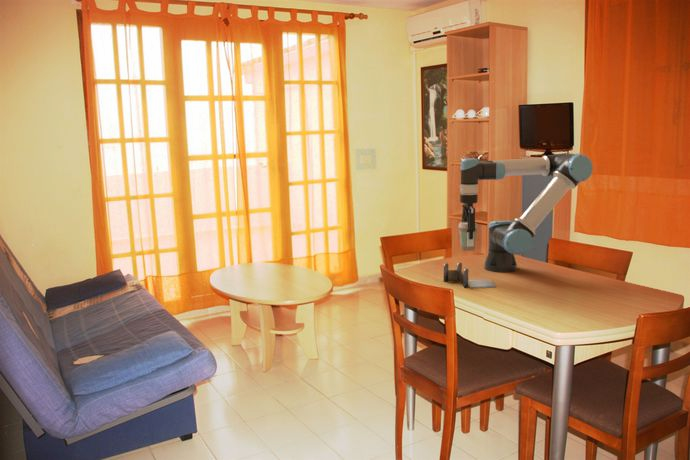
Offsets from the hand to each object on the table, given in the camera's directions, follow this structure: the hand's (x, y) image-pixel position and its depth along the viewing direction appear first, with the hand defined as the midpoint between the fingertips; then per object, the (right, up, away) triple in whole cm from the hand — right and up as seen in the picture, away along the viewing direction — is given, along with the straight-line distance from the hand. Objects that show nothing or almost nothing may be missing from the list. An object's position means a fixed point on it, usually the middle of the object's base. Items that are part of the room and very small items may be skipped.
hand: (467, 244), depth 266 cm
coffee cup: (0, -3, 0) cm, 3 cm away
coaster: (+3, -17, -9) cm, 20 cm away
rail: (-7, -17, -8) cm, 20 cm away
